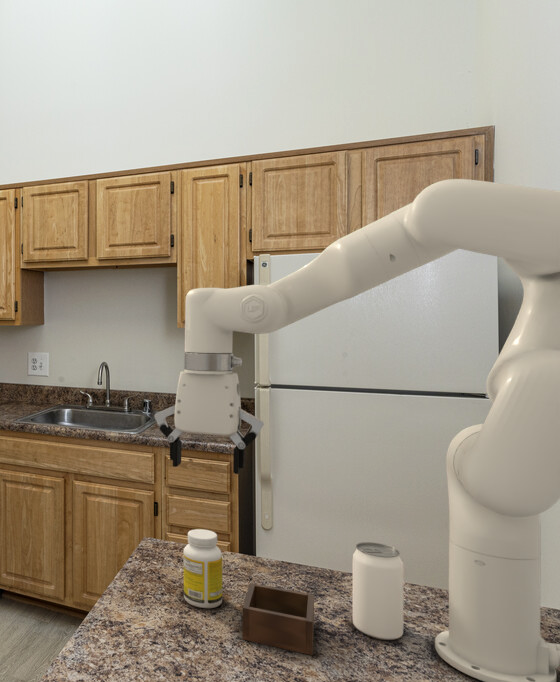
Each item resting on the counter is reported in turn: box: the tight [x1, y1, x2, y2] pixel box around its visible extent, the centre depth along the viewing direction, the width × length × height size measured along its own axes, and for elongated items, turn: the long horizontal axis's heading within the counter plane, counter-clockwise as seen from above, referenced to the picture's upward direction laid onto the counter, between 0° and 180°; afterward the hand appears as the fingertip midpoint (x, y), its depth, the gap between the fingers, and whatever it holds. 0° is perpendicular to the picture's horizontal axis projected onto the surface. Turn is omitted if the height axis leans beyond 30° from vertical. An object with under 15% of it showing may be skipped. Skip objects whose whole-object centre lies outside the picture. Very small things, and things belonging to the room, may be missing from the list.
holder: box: [242, 582, 315, 656], centre depth 82 cm, size 9×9×5 cm
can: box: [352, 541, 404, 641], centre depth 83 cm, size 6×6×12 cm
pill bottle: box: [182, 528, 223, 609], centre depth 92 cm, size 6×6×11 cm
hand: (206, 468), depth 92 cm, fingers open, 9 cm apart
